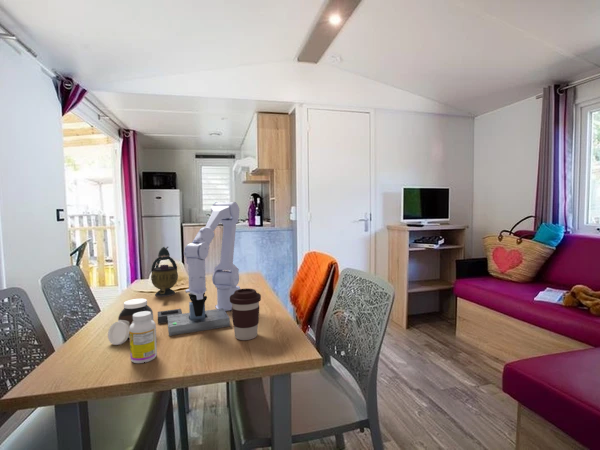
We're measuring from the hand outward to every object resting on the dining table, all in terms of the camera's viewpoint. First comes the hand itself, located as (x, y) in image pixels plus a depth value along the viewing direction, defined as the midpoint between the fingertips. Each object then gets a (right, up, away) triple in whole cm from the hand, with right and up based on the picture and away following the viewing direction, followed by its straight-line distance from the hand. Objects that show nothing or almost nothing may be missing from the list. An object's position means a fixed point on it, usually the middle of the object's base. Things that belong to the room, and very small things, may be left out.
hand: (198, 314), depth 116 cm
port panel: (0, -4, 0) cm, 4 cm away
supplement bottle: (-7, -6, -25) cm, 27 cm away
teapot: (-28, -2, +38) cm, 47 cm away
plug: (0, -4, 0) cm, 4 cm away
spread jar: (-18, -5, -11) cm, 22 cm away
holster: (-13, -4, +7) cm, 15 cm away
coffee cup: (+19, -5, -10) cm, 22 cm away
